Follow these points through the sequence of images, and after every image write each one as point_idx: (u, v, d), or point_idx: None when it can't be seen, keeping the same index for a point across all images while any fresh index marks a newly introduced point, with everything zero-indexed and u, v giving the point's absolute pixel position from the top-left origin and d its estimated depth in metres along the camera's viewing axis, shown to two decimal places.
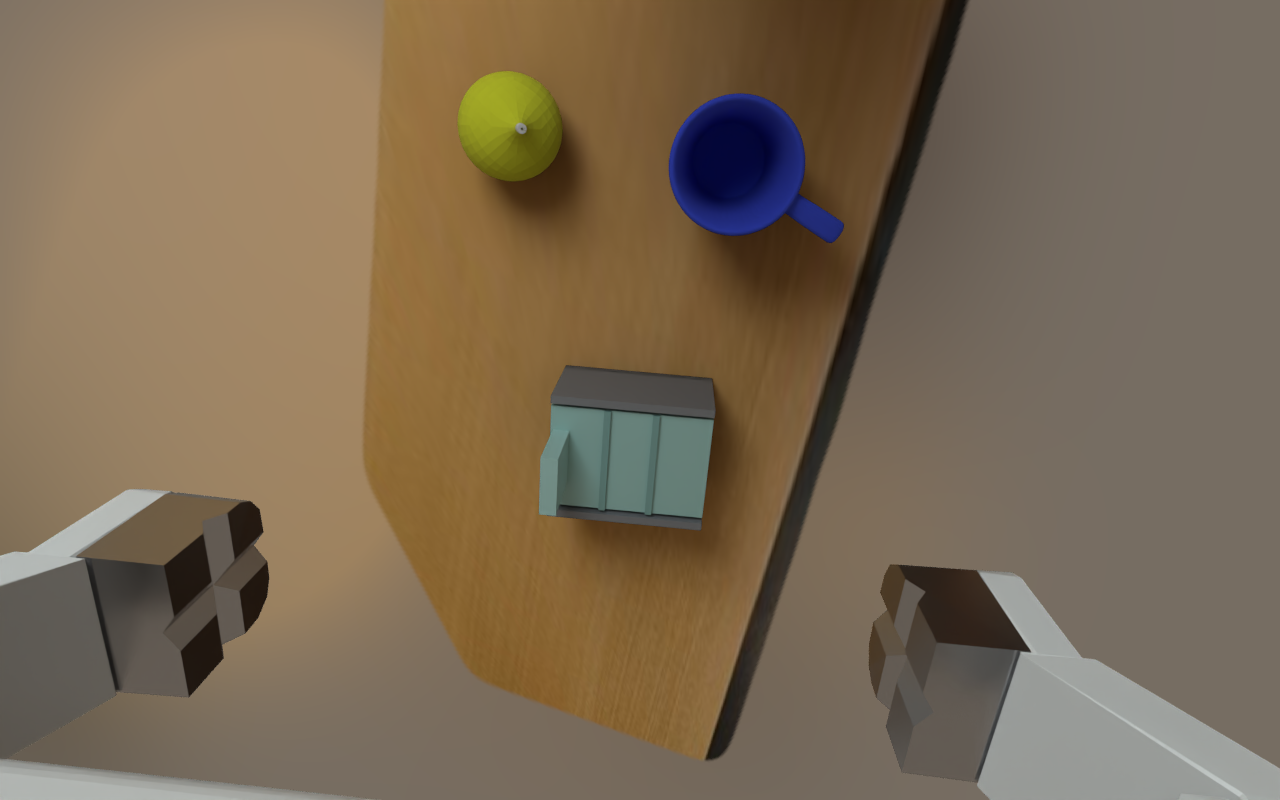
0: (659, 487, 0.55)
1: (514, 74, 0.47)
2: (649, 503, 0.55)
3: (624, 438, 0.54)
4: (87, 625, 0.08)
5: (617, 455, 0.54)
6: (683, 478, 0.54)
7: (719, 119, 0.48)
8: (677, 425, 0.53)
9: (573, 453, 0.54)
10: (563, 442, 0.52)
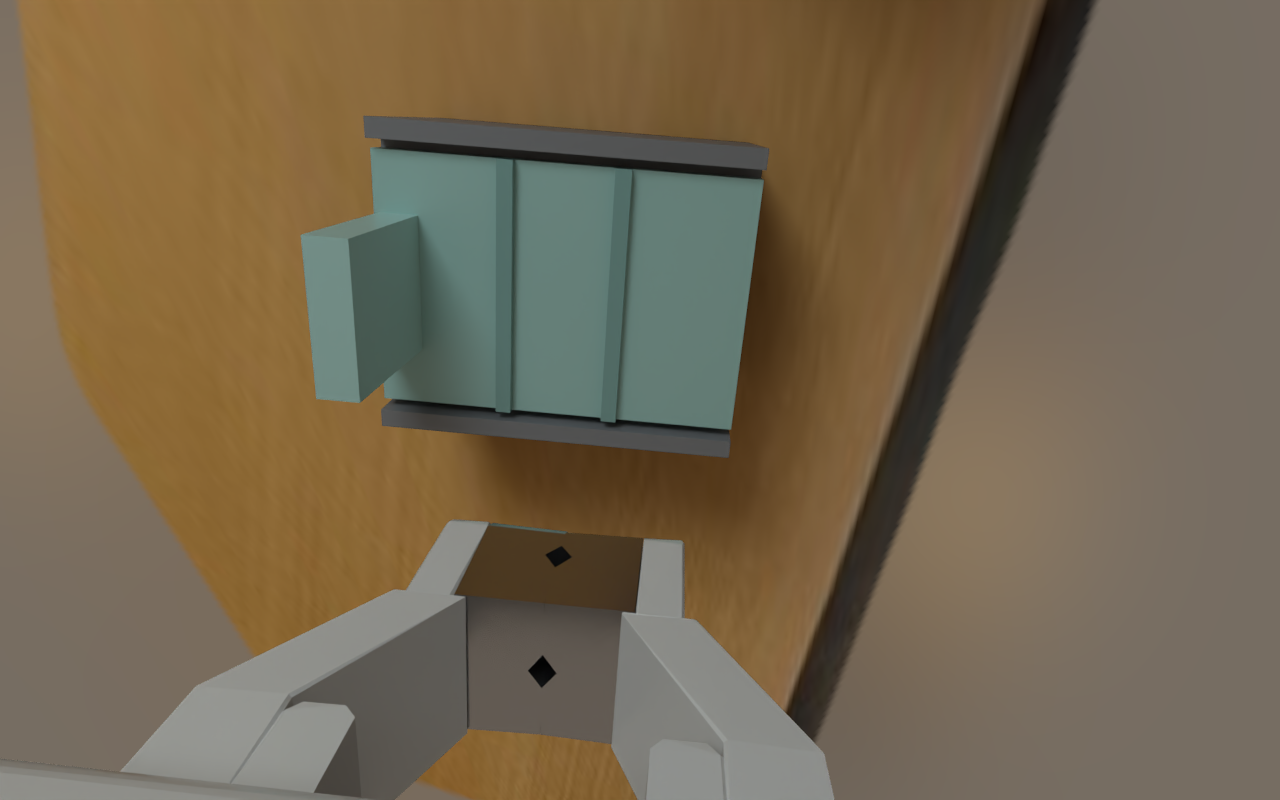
0: (633, 356, 0.24)
1: None
2: (611, 394, 0.24)
3: (549, 233, 0.22)
4: (459, 663, 0.08)
5: (535, 278, 0.23)
6: (688, 334, 0.23)
7: None
8: (674, 195, 0.22)
9: (432, 274, 0.23)
10: (388, 224, 0.21)
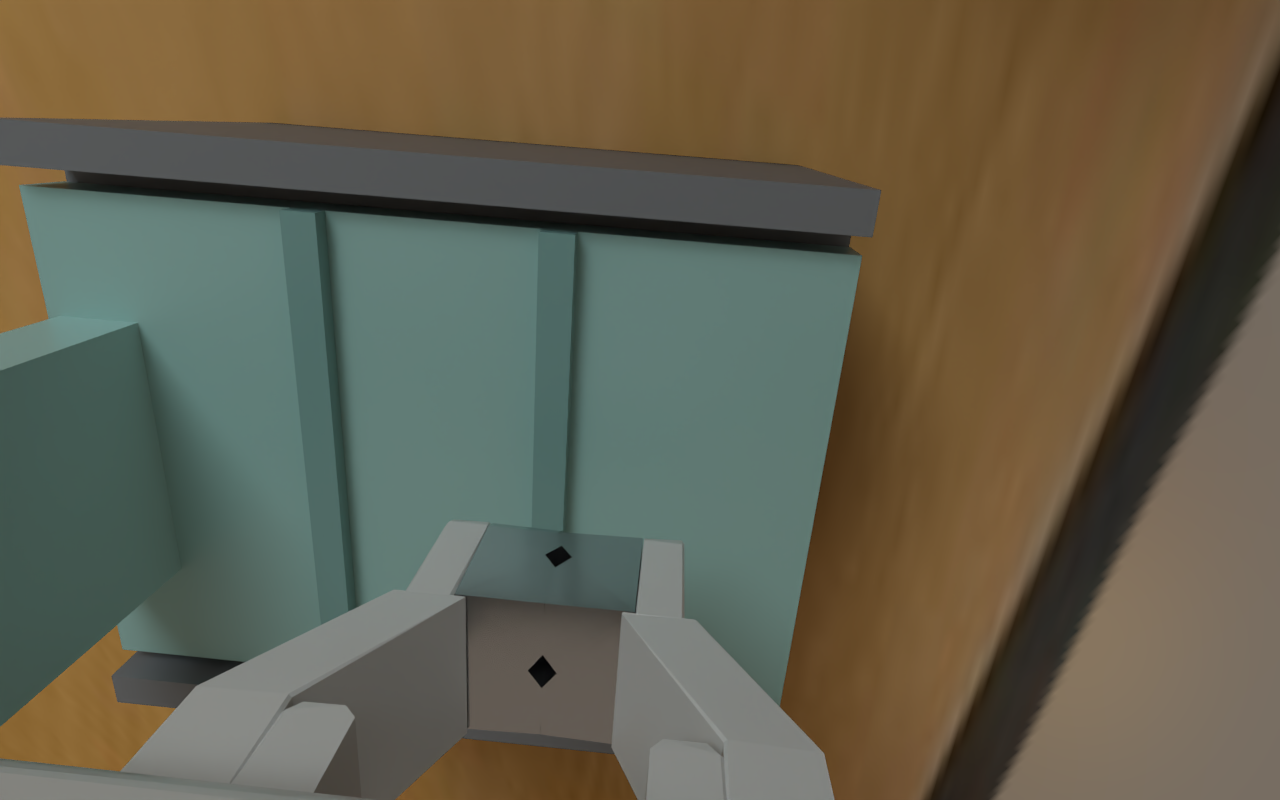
0: None
1: None
2: None
3: (408, 360, 0.11)
4: (459, 663, 0.08)
5: (386, 445, 0.11)
6: (696, 552, 0.12)
7: None
8: (666, 287, 0.10)
9: (181, 435, 0.12)
10: (6, 366, 0.09)
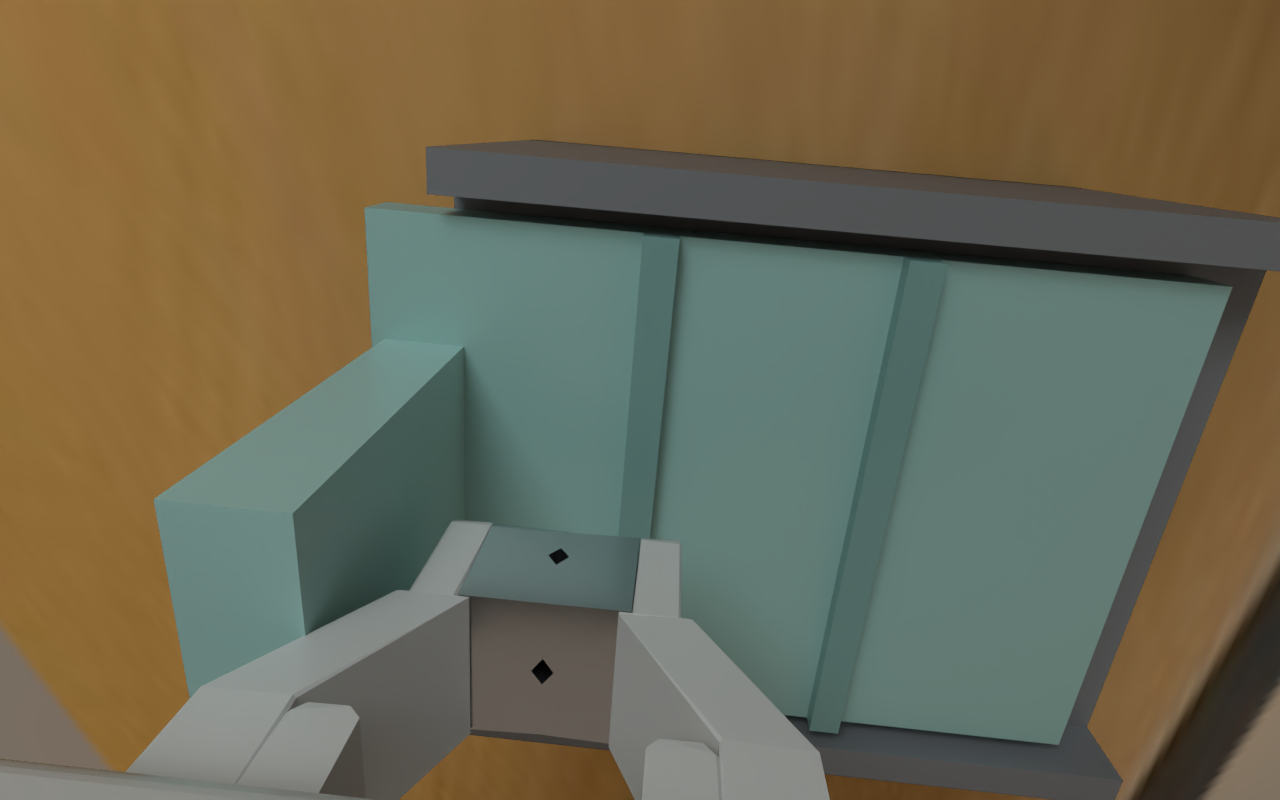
0: (886, 617, 0.12)
1: None
2: (837, 687, 0.12)
3: (740, 386, 0.11)
4: (462, 663, 0.08)
5: (701, 472, 0.11)
6: (1004, 580, 0.12)
7: None
8: (1023, 315, 0.10)
9: (489, 459, 0.11)
10: (405, 396, 0.09)
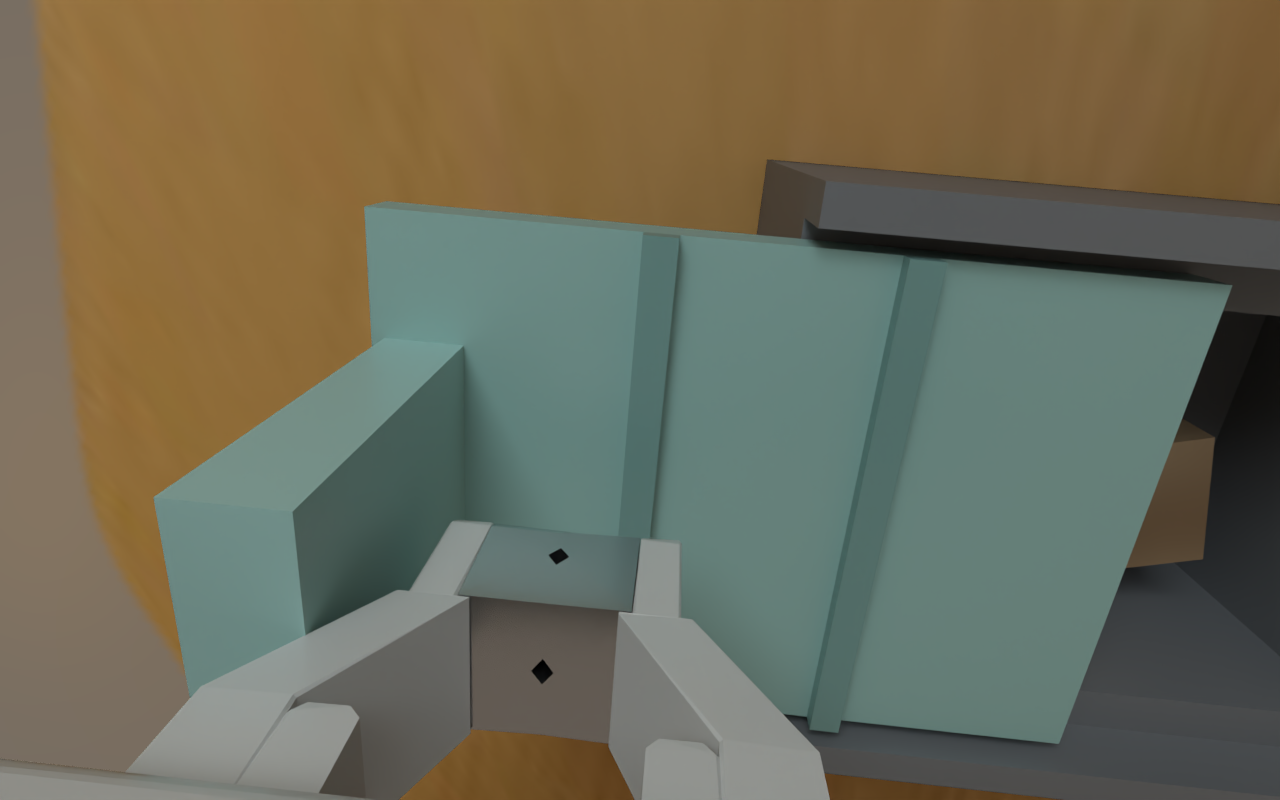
0: (886, 616, 0.12)
1: None
2: (837, 686, 0.12)
3: (739, 385, 0.11)
4: (463, 663, 0.08)
5: (701, 470, 0.11)
6: (1005, 579, 0.12)
7: None
8: (1023, 314, 0.10)
9: (489, 458, 0.11)
10: (405, 395, 0.09)
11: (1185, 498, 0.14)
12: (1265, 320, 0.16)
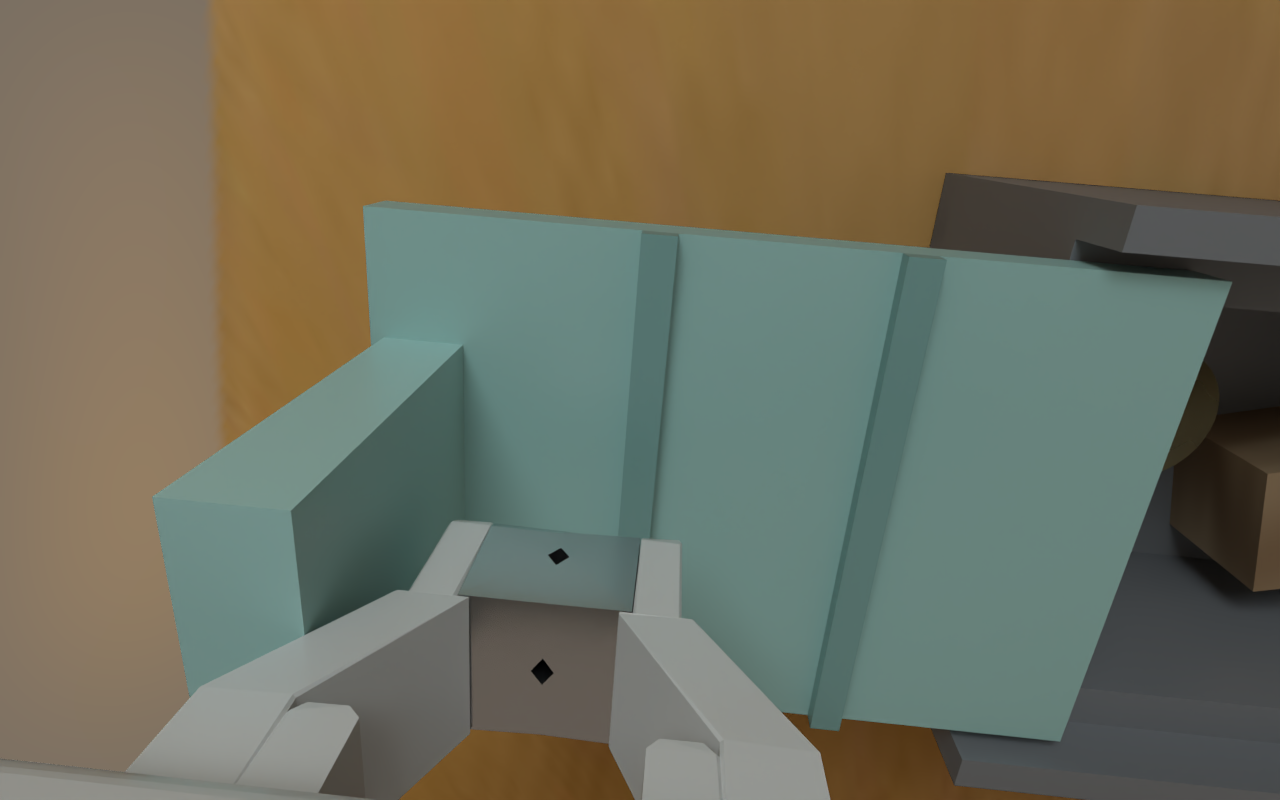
0: (886, 614, 0.12)
1: None
2: (837, 684, 0.12)
3: (739, 384, 0.11)
4: (462, 663, 0.08)
5: (701, 469, 0.11)
6: (1006, 577, 0.12)
7: None
8: (1023, 311, 0.10)
9: (489, 458, 0.11)
10: (404, 394, 0.09)
11: None
12: None
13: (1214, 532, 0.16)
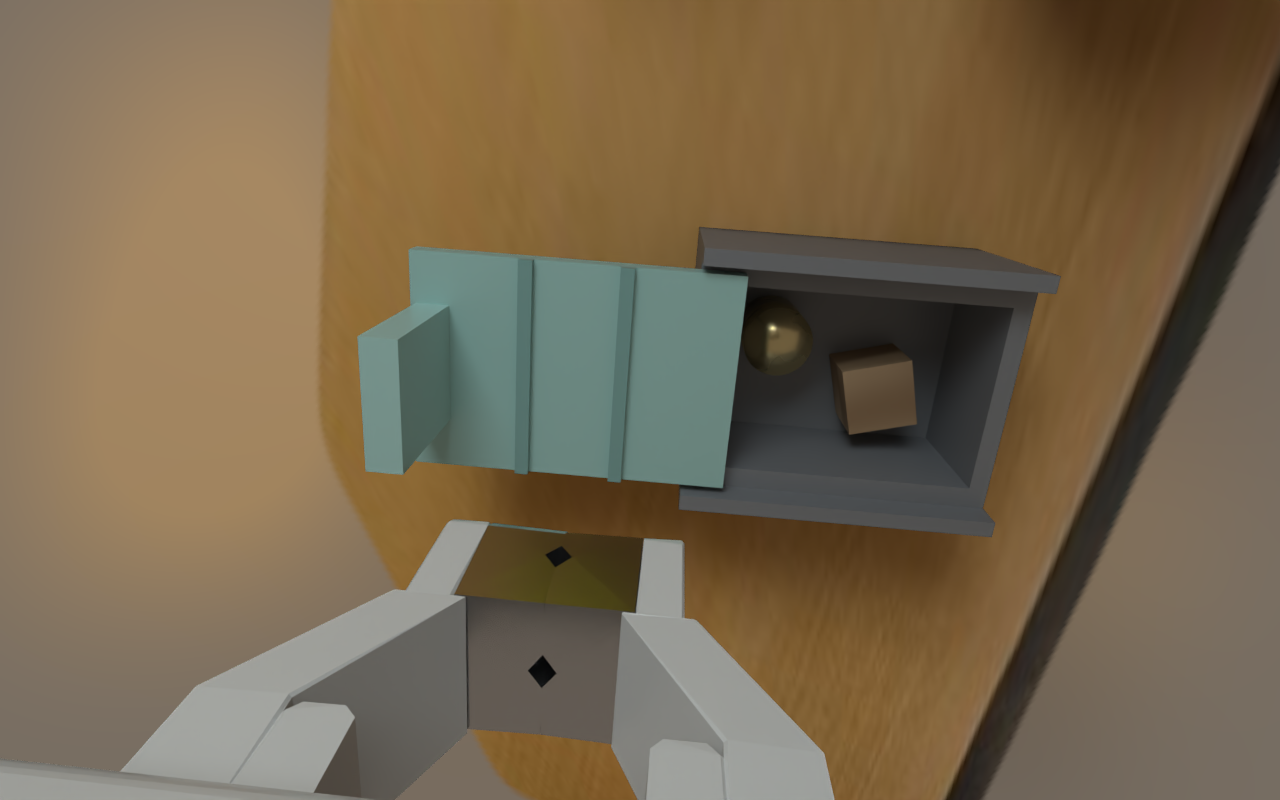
0: (636, 425, 0.27)
1: None
2: (616, 458, 0.27)
3: (562, 320, 0.26)
4: (459, 663, 0.08)
5: (550, 358, 0.26)
6: (684, 405, 0.27)
7: None
8: (671, 289, 0.25)
9: (460, 355, 0.27)
10: (426, 318, 0.24)
11: (903, 391, 0.30)
12: (954, 306, 0.31)
13: (841, 409, 0.31)
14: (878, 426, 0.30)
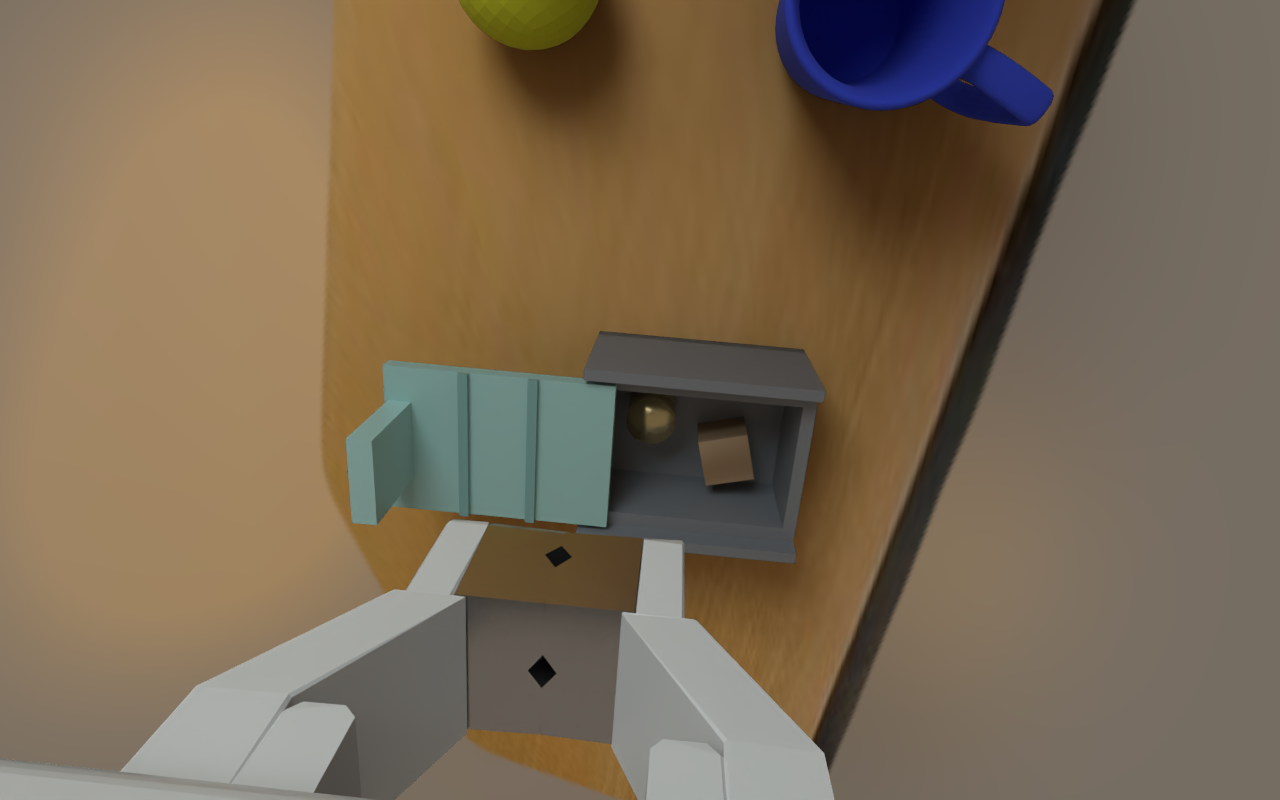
0: (544, 483, 0.39)
1: None
2: (530, 506, 0.39)
3: (490, 413, 0.37)
4: (459, 663, 0.08)
5: (482, 438, 0.38)
6: (576, 471, 0.38)
7: None
8: (563, 393, 0.37)
9: (419, 435, 0.38)
10: (393, 417, 0.35)
11: (742, 456, 0.41)
12: None
13: None
14: (726, 480, 0.42)
